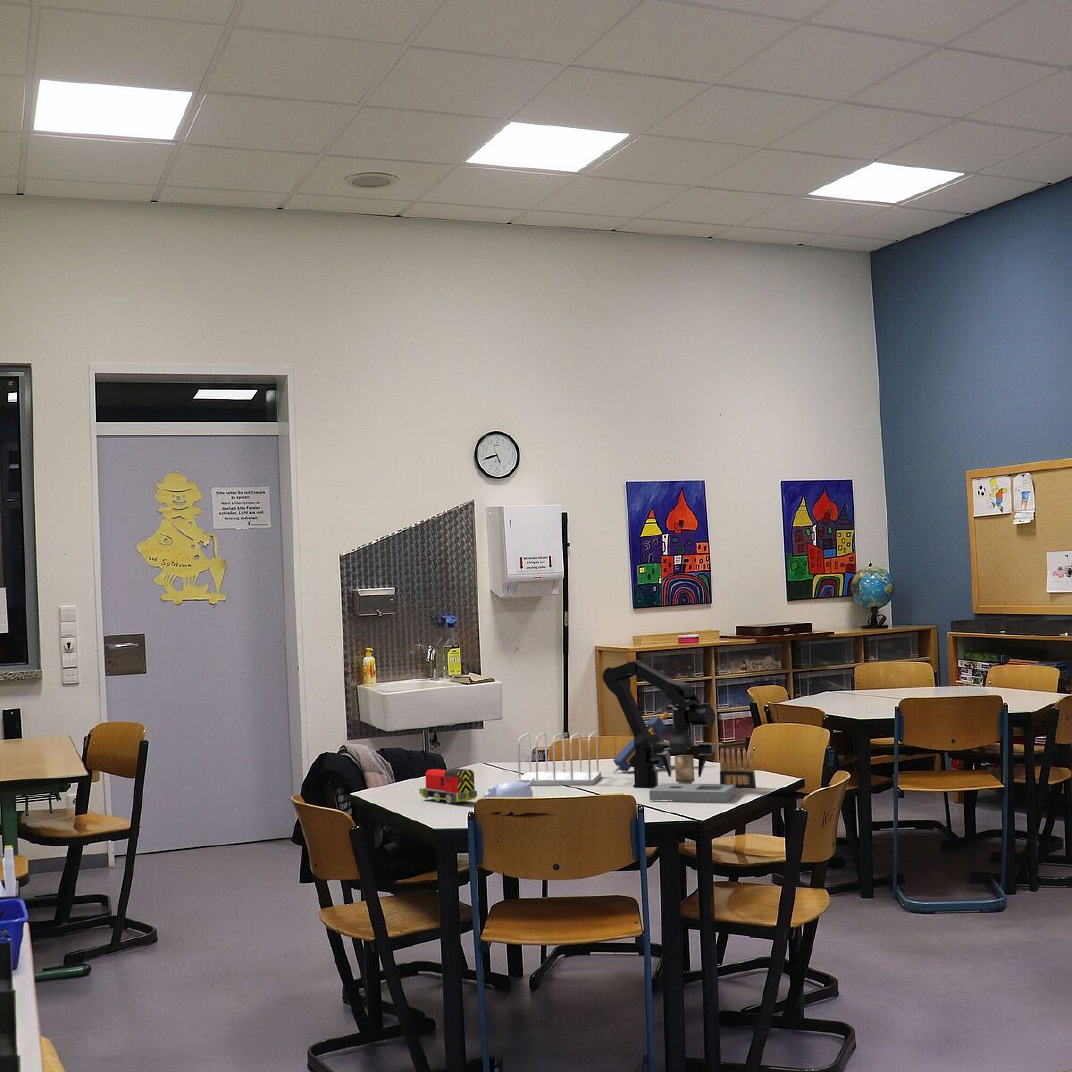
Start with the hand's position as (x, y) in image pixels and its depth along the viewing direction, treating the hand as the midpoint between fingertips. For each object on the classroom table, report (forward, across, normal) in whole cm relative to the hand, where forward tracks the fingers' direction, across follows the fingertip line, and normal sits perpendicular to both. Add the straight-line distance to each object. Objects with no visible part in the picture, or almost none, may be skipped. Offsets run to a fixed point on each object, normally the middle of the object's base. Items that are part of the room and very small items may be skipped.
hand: (684, 776), depth 355 cm
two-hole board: (+4, +6, -15) cm, 17 cm away
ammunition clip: (+4, +15, +5) cm, 16 cm away
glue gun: (+4, -25, +40) cm, 47 cm away
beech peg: (+4, 0, 0) cm, 4 cm away
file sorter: (+4, -45, +12) cm, 47 cm away
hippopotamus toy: (+4, -39, -45) cm, 60 cm away
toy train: (+4, -65, -30) cm, 72 cm away
